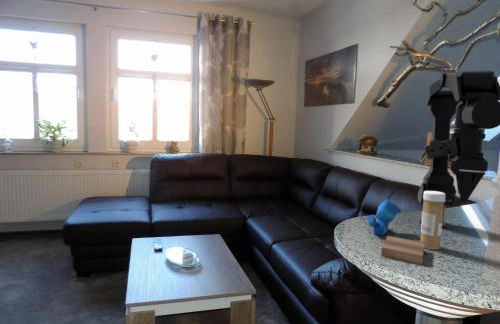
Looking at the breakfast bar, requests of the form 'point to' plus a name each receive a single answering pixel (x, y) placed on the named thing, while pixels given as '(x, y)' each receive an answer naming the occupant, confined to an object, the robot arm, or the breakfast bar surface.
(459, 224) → the breakfast bar surface
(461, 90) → the robot arm
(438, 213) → the sprinkles bottle
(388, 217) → the blue figurine
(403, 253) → the wooden block
